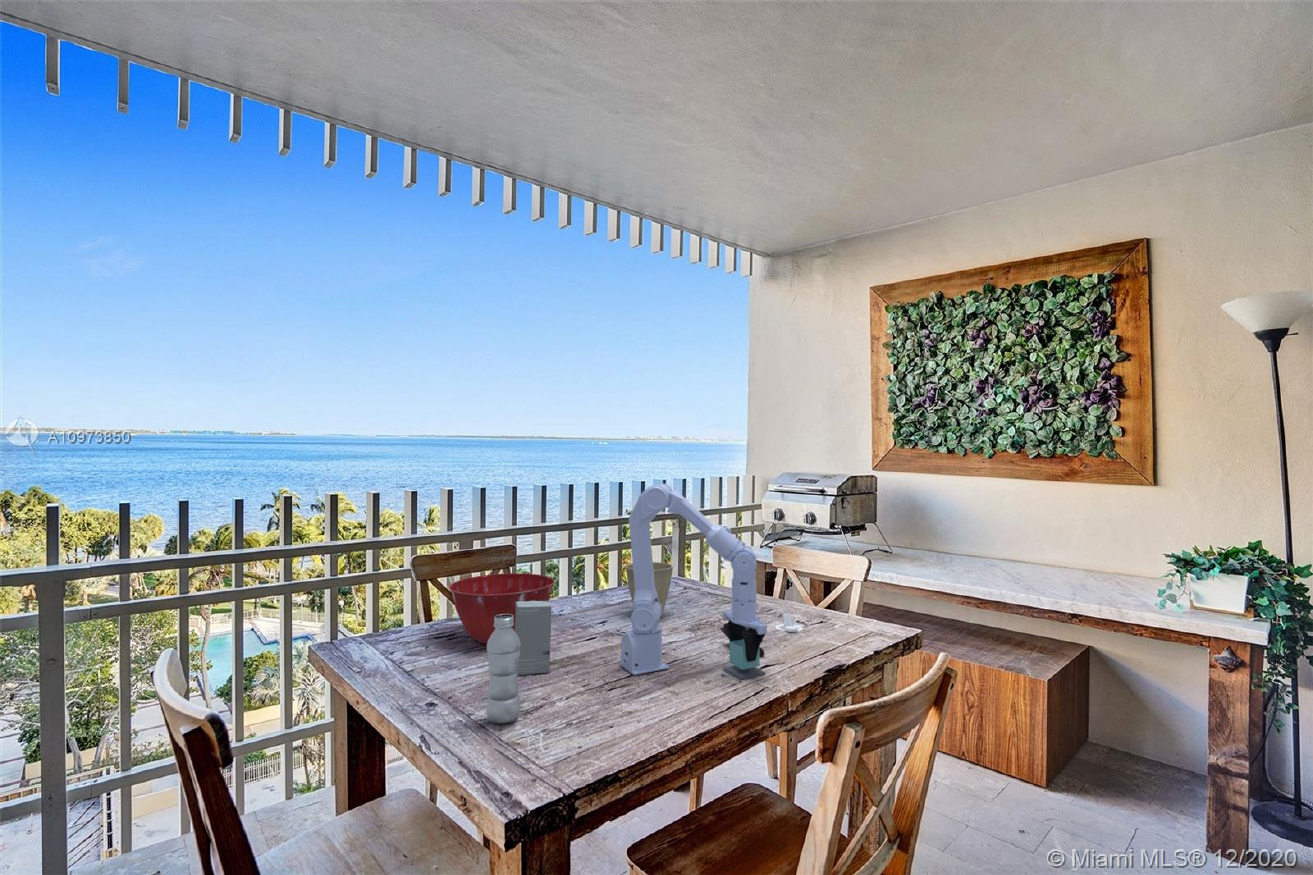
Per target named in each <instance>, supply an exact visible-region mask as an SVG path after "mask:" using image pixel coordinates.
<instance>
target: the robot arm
mask: <svg viewBox="0 0 1313 875" xmlns="http://www.w3.org/2000/svg"><path fill="white" fill-rule="evenodd" d="M666 508H668V509H667V510H666V513H669V514H675V515H680V516H681V517H682V518H684V519H685V520H686V521H687V522H689V523H690V524H691V525H692V526H693V527H695V528H696V529H698V530H699V532H701V533H702V534H703V535H704V536H705V543H706V544H707V545H708V546H709V547H710V548H711V550H713V551H714V552H716V553H717V554H718V555H719V556H720V557H721V558H722V559H724V560H725V561H726V562H730V566H731V568H732V579H731V610H724V611H722V613H723V614H722V618H723V620H725V621H727V623H724V624H723V627H724V628H725V630H726V632H727V634H728V637H729V639H728V641H729V640H730V641H729V643H730V642H731V641H737V640H742V639H744V642H745V649H746V658H747V661H748V662H751V661H756V657H757V653H758V649H759V646H760V647H761V644H762V643H761V641H762V639H763V640H764V637H765V636H766V635H767V633H768V626H767V624H765V623H763V622H762V621H761V620H760V616H759V615H757V579H756V576H757V573H756V569H757V566H758V562H757V556H756V553H755V552H754V551H753V549H752V547H750V546H748V545H747V543H746V542H745V541H744V540H743V541H740V539H738V538H737V537H736V536H735V535H734V534H733V533H731V532H732V530H731V528H730V527H729V526H726V527H725V526H724V525H722V524H718V525H717V524H716V525H715V524H713V523H712V521H710V520H709V519H708V518H707V516H705V515H704V514H703V513H702V512H701V511H699V510H698V508H696V507H695V506H694V505H693V504H692V503H691V502H690V501H689V500H688V499H686V497H684V496H683V495H682V494H680V492H678V491H676V490H675V489H674V490H673V489H672V487H671V486H670V485H668V484H666V483H662V482H661V483H660V482H659V483H657V484H653V485H650V486H648V487H647V488H646V489H645V490H643V491H642V492H641V493H640V494H639V497H638V499H637V501H636V503H635V505H634V507H633V509H632V510H631V512H630V514H629V516H628V525H629V526H628V527H629V536H630V548H631V549H630V550H631V559H632V563H633V573H634V584H635V595H634V605H633V610H632V613H631V616H630V623H631V625H632V627H631V630H630V631H627V632H625V633H623V634H622V636H621V641H620V642H621V643H620V644H621V645H620V646H621V647H620V648H621V652H620V654H621V656H620V660H621V662H620V663H619V665H620V666H621V667H622V668H624V669H625V670H626V671H627V672H629V673H630V674H631V675H633V676H637V675H641V674H646V673H652V672H658V671H662V670H669V669H670V668H669V667H670V666H669V665H668V664H666V663H664V662H663V650H662V649H663V627H662V625H661V624H660V622H659V620H660V619H661V617H662V616H663V612H664V610H662V605H661V604H660V602H659V600H658V596H657V591H656V588H655V582H654V570H653V562H654V561H653V551H652V548H653V547H652V538H651V527H650V526H651V525H650V523H651V522H652V521H653V520H654V519H655V517H656V516H657V515H658V514H659V513H661V512H662V511H664V510H665V509H666ZM745 628H749V631H748V630H746V631H745ZM728 637H727V638H728ZM762 642H763V641H762Z"/></svg>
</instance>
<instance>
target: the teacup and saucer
mask: <svg viewBox="0 0 1313 875" xmlns="http://www.w3.org/2000/svg"><path fill="white" fill-rule="evenodd" d="M782 618H783V619H782V620H783V623H781V624H777V625H775V626H774V628H775V629H776V630H777V631H780V632H787V633H796V632H801V631H803V630H804V628H803V627H802V626H801V625H799V624H794V623H795V622H794V621H795V615H793V614H790V613H785V614H783V616H782ZM780 627H784V629H781V628H780Z"/></svg>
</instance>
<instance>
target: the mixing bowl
mask: <svg viewBox="0 0 1313 875" xmlns="http://www.w3.org/2000/svg"><path fill="white" fill-rule="evenodd" d="M555 582H556V580H555V579H554V578H553V577H551V576H548V575H543V574H536V573H522V572H521V573H517V572H515V573H514V572H513V573H493V574H485V575H477V576H473V577H472V576H471V577H467V578H464V579H463V578H462V579H460V580H456V581H454V582H453V583H451V584H450V585H449V588H448V589H449V590H450V593H451V596H452V600H453V601H452V602H453V603H454V604H453V605H454V608H455V609H456V614H457V616H458V617H459V620H460V622H461V625H462V626H463V628H464V629H465V631H466V633H467V634H468V635H469V636H470V637H471V638H472V639H473V640H475V641H478V643H480V644H483V645H487V642H488V640H489V638H490V636H491V634H492V633H493V632H494V630H495V627H494V618H495V616H496V615H500V614H512V615H513V622H514V626H512V628H513V630H514V631H515V617H516V602H519V601H549V602H550V598H551V595H552V591H553V588H554V587H553V586H554V585H555Z"/></svg>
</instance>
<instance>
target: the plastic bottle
mask: <svg viewBox="0 0 1313 875" xmlns="http://www.w3.org/2000/svg"><path fill="white" fill-rule="evenodd" d="M512 626H514V622H513V615H512V614H500V615H496V616H495V618H494V627H495V630H494V632H493V633H492V634H491V636H490V638H489V640H488V642H487V644H486V651H487V652H486V653H487V659H488V660H487V661H488V668H489V669H488V672H489V683H488V694H487V695H488V696H487V698H486V699H487V700H486V704H485V705H486V706H485V711H486V717H487V719H488V720H489V721H490V722H491V723H493V724H496V725H497V724H498V725H499V724H500V725H503V724H508V723H512V722H513V721H515V720H516V719H517V718H518V716H519V715H520V711H521V710H520V709H521V698H520V695H519V686H518V676H517V670H518V659H519V651H520V639H519V637H518V635H517V634H516V632H515V631H514V630H513V628H512Z"/></svg>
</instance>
